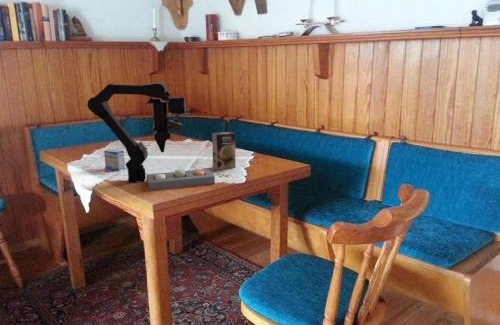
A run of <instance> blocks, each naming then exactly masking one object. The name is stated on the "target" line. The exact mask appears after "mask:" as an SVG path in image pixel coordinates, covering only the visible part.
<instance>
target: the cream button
mask: <svg viewBox="0 0 500 325" xmlns="http://www.w3.org/2000/svg"><path fill="white" fill-rule="evenodd" d="M157 174H158V173H157ZM157 179H165V175H164V174H158V175H155V180H157Z"/></svg>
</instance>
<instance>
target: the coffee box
mask: <svg viewBox="0 0 500 325" xmlns="http://www.w3.org/2000/svg"><path fill="white" fill-rule="evenodd" d="M211 134H212V136H211V137H212V139H211V140H212V168H214V169H217V171H218V170H226V169H233V168H234V169H235V168H236V133H235V132H232V131H221V132H212V133H211Z"/></svg>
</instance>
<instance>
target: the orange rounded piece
mask: <svg viewBox="0 0 500 325" xmlns="http://www.w3.org/2000/svg"><path fill="white" fill-rule="evenodd" d="M199 175H204V171H195V176H199Z"/></svg>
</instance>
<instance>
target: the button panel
mask: <svg viewBox="0 0 500 325" xmlns="http://www.w3.org/2000/svg"><path fill="white" fill-rule="evenodd" d="M195 171H204V175H199V176H195ZM158 174H164V175H165V179H157V180H155V175H158ZM145 176H146V184H147V187H148V189H149V191H155V190H164V189H165V190H166V189H176V188H183V187H184V188H185V187H195V186H201V185H202V186H203V185H204V186H206V185H214V184H215V183H216V181H215V180H216V179H215V177H216V176H215V175H214V174H213V173H212V171H210V169H209V168H205V169H203V168H202V169H192V170H185V177H178V178H175V171H170V172H159V173H149V174H145Z"/></svg>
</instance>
